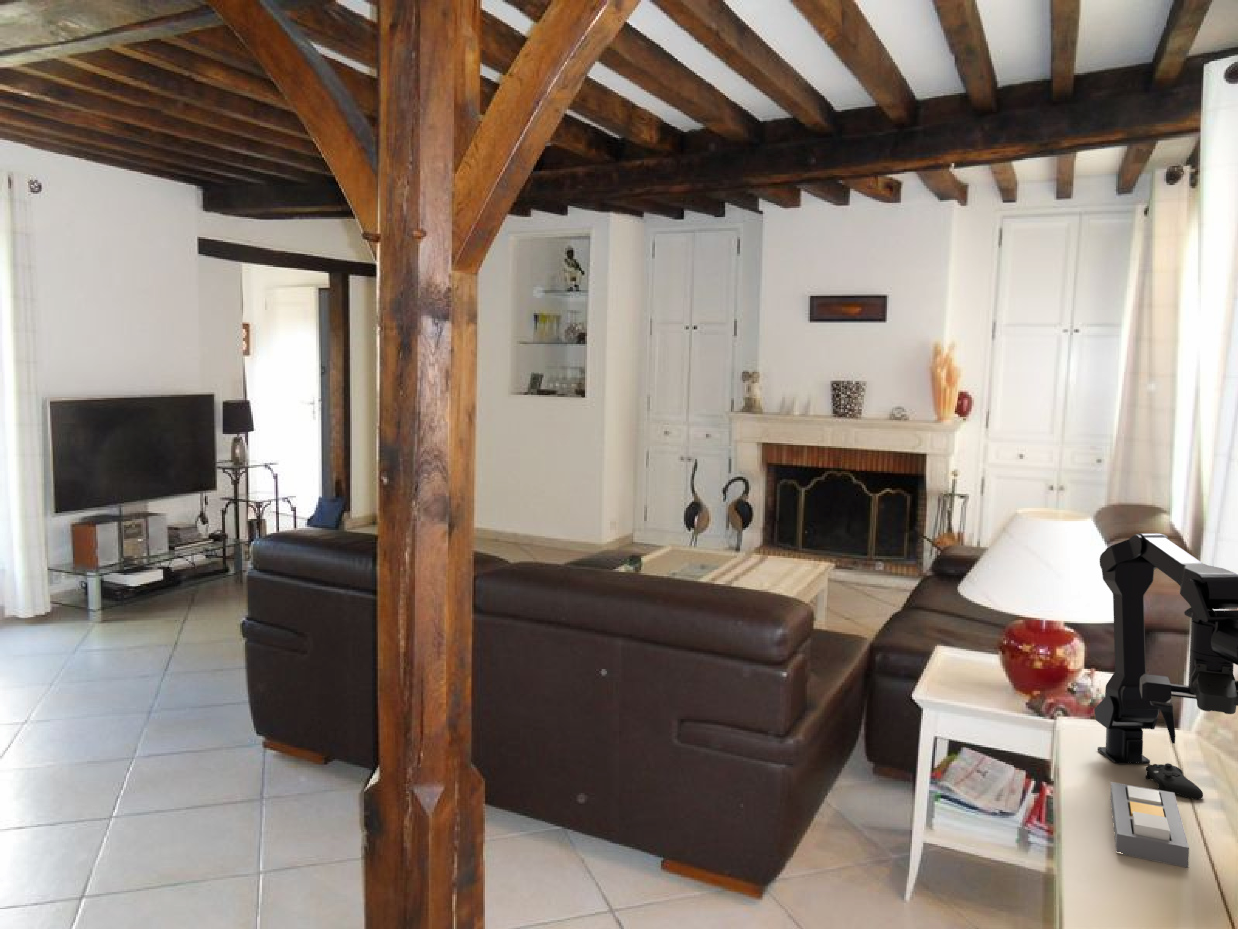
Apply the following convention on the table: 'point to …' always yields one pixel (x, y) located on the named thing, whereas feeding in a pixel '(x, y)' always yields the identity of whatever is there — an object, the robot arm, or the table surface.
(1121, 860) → the table surface
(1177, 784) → the game controller
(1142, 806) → the button mid
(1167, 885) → the table surface
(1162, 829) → the button
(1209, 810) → the table surface
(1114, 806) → the switch strip
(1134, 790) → the button
